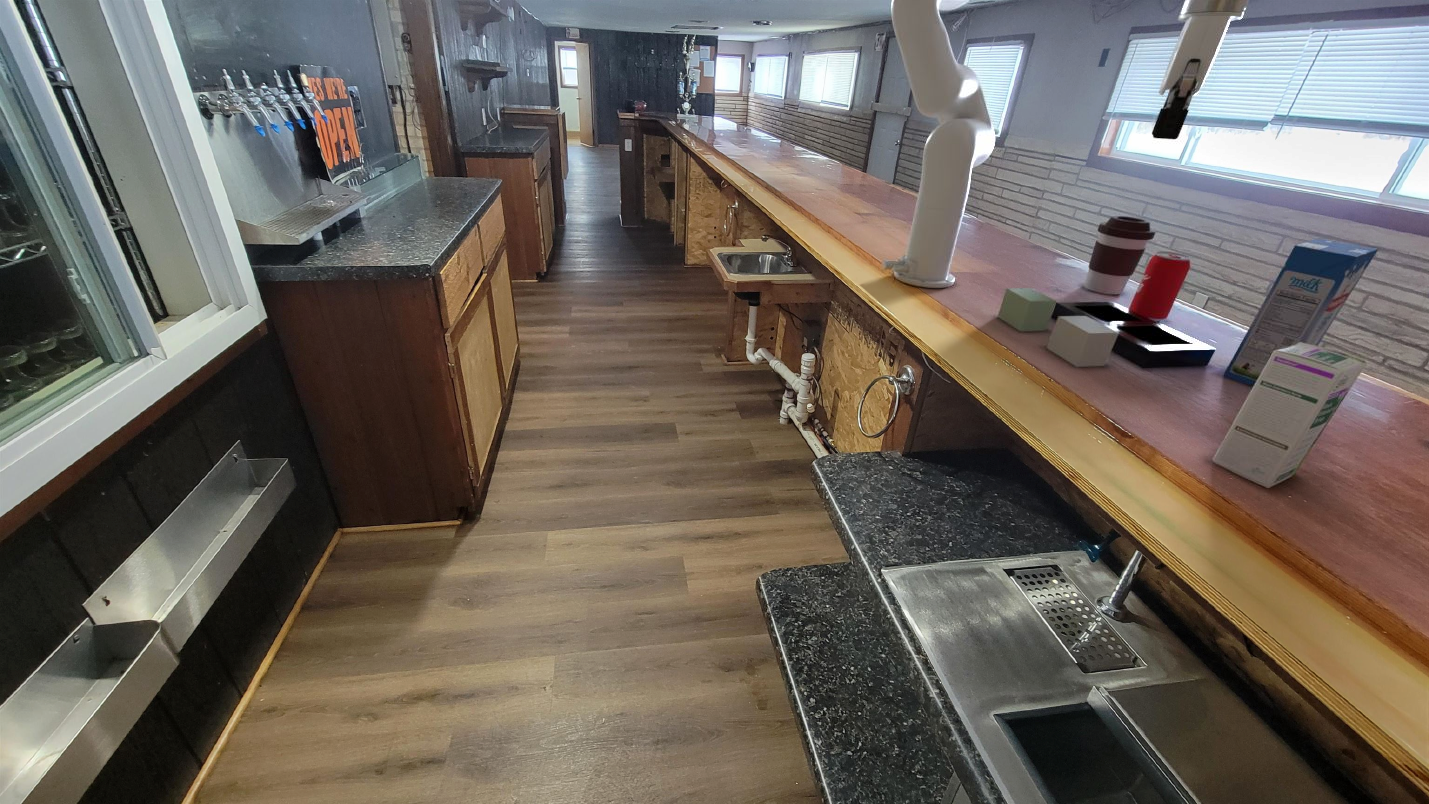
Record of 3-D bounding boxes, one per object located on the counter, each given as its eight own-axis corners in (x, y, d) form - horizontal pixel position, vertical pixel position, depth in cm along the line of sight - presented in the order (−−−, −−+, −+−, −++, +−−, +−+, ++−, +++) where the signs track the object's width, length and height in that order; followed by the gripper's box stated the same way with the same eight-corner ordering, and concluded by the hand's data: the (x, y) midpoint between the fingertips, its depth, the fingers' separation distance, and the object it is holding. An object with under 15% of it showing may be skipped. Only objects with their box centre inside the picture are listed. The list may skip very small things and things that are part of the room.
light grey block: (1076, 366, 87) (1089, 333, 84) (1046, 348, 93) (1058, 316, 90) (1104, 366, 88) (1119, 332, 85) (1073, 347, 94) (1085, 315, 91)
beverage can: (1153, 312, 111) (1181, 251, 105) (1172, 324, 105) (1202, 261, 100) (1120, 310, 111) (1146, 249, 105) (1137, 321, 106) (1165, 258, 100)
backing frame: (1142, 368, 88) (1150, 351, 86) (1050, 317, 106) (1056, 302, 105) (1207, 366, 89) (1216, 348, 88) (1105, 316, 108) (1111, 301, 106)
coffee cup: (1133, 290, 123) (1163, 220, 116) (1123, 300, 117) (1155, 227, 109) (1083, 279, 129) (1108, 212, 121) (1071, 288, 122) (1097, 217, 115)
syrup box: (1269, 490, 61) (1349, 371, 54) (1208, 460, 66) (1274, 347, 58) (1293, 476, 64) (1373, 361, 56) (1232, 449, 68) (1299, 339, 61)
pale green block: (1020, 331, 99) (1030, 301, 96) (997, 317, 105) (1006, 288, 102) (1045, 331, 100) (1056, 300, 97) (1021, 316, 106) (1031, 287, 103)
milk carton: (1273, 393, 82) (1356, 256, 72) (1222, 375, 86) (1294, 245, 76) (1297, 378, 87) (1379, 248, 77) (1248, 362, 91) (1319, 238, 81)
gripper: (1178, 15, 90) (1135, 133, 98) (1185, 1, 77) (1135, 138, 86) (1238, 13, 86) (1188, 136, 95) (1255, -2, 74) (1196, 142, 82)
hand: (1163, 137), depth 90 cm, fingers open, 9 cm apart
